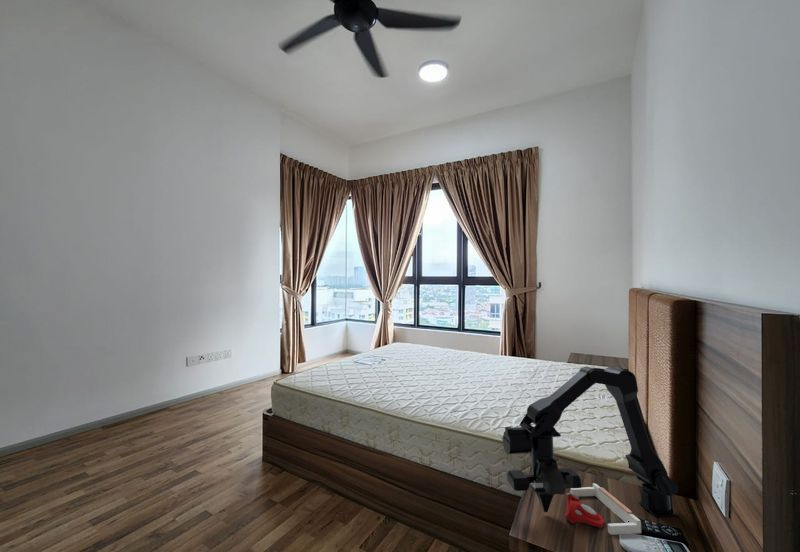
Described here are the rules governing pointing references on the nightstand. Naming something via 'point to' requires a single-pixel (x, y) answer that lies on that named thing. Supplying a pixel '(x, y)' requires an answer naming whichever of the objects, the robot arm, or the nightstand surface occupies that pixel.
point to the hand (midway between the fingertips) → (545, 511)
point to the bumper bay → (615, 506)
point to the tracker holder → (582, 512)
